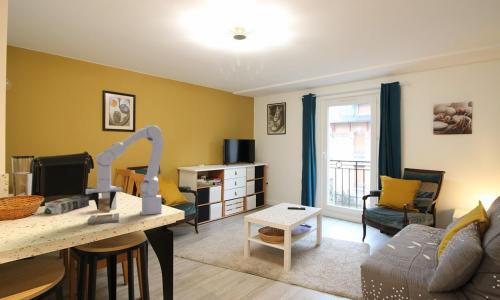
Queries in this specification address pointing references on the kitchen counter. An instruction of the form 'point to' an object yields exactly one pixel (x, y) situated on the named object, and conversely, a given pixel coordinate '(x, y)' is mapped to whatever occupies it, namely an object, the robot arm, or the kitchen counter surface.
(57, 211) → the juice carton
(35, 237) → the kitchen counter surface
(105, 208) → the tan wooden block
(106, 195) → the skincare box
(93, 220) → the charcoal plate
